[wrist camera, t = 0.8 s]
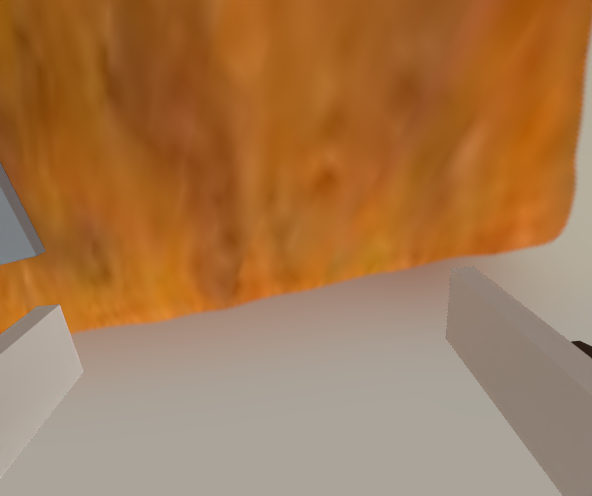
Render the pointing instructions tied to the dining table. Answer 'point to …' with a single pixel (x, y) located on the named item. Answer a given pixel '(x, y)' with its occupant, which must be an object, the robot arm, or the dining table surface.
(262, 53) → the dining table surface
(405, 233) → the dining table surface
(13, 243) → the board
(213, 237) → the dining table surface
